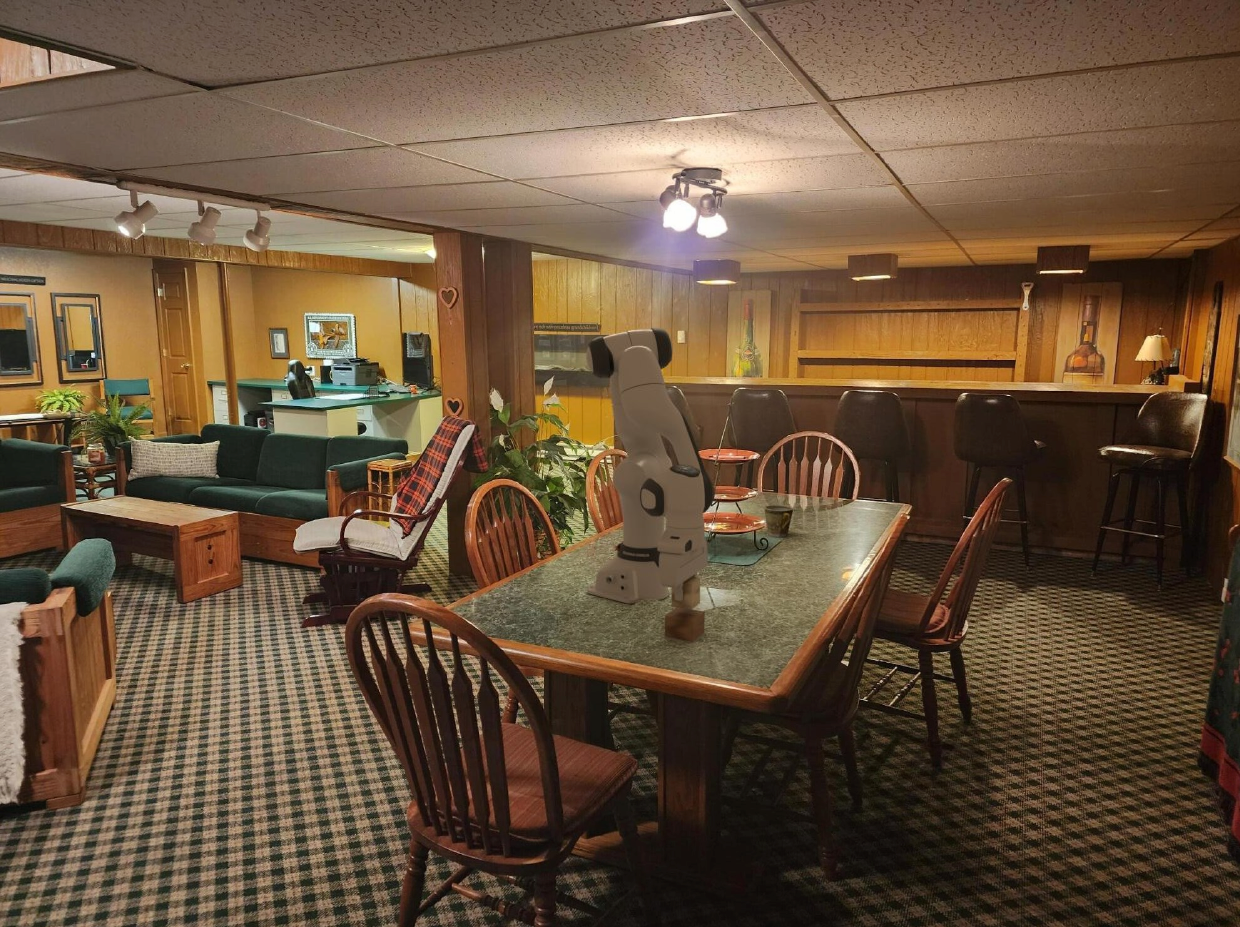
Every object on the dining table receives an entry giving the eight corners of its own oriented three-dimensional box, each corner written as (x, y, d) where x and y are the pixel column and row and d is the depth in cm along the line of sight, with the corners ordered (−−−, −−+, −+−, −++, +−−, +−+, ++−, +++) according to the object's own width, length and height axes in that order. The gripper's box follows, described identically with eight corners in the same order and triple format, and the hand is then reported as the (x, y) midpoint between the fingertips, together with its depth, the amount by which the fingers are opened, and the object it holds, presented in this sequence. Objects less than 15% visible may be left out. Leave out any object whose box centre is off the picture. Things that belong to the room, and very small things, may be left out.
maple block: (671, 606, 183) (671, 581, 183) (680, 600, 188) (680, 575, 187) (691, 609, 181) (691, 583, 180) (700, 603, 186) (700, 578, 185)
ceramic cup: (758, 532, 289) (759, 505, 288) (783, 531, 292) (784, 504, 291) (776, 541, 277) (777, 513, 276) (801, 539, 280) (802, 511, 279)
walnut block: (664, 636, 184) (665, 615, 184) (676, 627, 190) (676, 606, 190) (693, 641, 181) (693, 620, 180) (704, 632, 187) (704, 611, 187)
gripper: (689, 526, 193) (689, 582, 195) (653, 545, 175) (654, 606, 177) (714, 528, 190) (714, 585, 192) (680, 548, 172) (680, 610, 174)
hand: (685, 595), depth 184 cm, fingers closed on maple block, 5 cm apart
